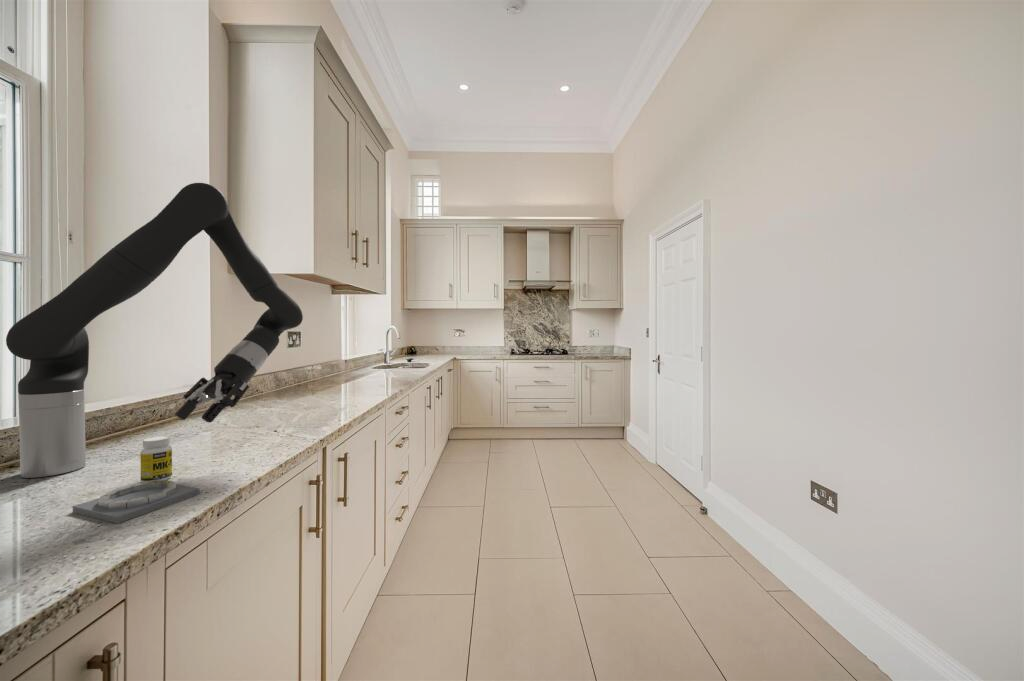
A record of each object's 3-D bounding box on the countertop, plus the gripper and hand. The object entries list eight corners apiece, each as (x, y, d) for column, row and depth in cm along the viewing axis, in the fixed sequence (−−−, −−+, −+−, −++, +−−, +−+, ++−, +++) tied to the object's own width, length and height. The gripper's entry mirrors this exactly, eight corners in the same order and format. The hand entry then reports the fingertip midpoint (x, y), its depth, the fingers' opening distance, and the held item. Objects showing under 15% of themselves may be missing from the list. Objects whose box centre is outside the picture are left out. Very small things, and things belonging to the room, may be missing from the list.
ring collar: (85, 504, 66) (85, 498, 66) (154, 483, 75) (154, 478, 75) (121, 513, 63) (121, 506, 63) (189, 489, 72) (189, 484, 72)
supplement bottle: (153, 484, 77) (152, 442, 77) (134, 483, 78) (133, 441, 78) (178, 476, 82) (177, 436, 82) (160, 474, 83) (159, 434, 82)
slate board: (72, 512, 65) (72, 506, 65) (158, 485, 77) (157, 480, 77) (116, 523, 61) (116, 517, 61) (199, 493, 73) (199, 488, 73)
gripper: (210, 352, 96) (156, 407, 86) (253, 353, 92) (201, 411, 81) (232, 371, 102) (184, 426, 91) (273, 373, 97) (227, 430, 86)
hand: (192, 419), depth 86 cm, fingers open, 8 cm apart
